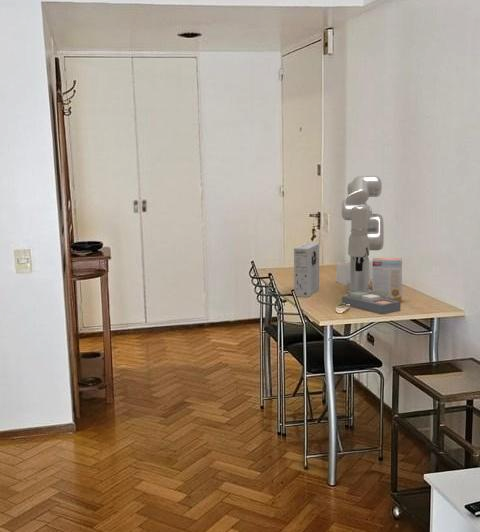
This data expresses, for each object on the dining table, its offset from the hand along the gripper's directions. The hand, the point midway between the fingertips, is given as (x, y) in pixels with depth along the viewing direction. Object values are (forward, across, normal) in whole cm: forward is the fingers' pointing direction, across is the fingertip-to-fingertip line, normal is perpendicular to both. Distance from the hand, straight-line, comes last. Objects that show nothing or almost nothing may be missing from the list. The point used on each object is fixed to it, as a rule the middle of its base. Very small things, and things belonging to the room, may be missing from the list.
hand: (358, 270), depth 329 cm
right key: (+15, +16, 0) cm, 22 cm away
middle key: (+13, +8, 0) cm, 15 cm away
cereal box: (+16, -37, -1) cm, 41 cm away
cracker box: (+16, +3, +16) cm, 23 cm away
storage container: (+16, -40, +41) cm, 60 cm away
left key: (+13, 0, 0) cm, 13 cm away
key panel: (+16, +8, 0) cm, 18 cm away
